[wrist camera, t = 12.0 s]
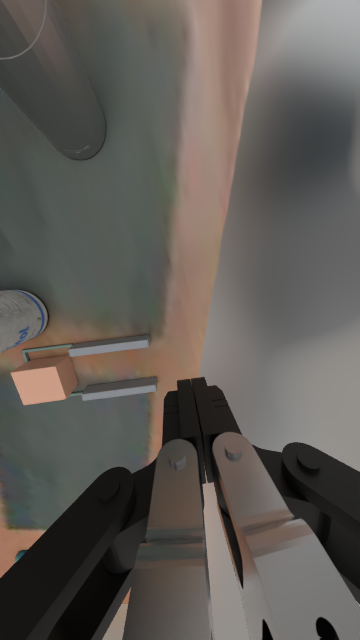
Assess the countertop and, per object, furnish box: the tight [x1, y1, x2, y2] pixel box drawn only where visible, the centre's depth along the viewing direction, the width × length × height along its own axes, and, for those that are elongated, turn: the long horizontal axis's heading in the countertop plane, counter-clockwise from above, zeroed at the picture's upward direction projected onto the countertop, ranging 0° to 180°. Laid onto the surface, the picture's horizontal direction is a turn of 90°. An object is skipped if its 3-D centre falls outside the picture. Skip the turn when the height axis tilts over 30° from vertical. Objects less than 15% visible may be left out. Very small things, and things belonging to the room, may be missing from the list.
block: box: [11, 355, 78, 405], centre depth 36 cm, size 7×8×5 cm
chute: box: [68, 335, 157, 401], centre depth 37 cm, size 11×15×3 cm
